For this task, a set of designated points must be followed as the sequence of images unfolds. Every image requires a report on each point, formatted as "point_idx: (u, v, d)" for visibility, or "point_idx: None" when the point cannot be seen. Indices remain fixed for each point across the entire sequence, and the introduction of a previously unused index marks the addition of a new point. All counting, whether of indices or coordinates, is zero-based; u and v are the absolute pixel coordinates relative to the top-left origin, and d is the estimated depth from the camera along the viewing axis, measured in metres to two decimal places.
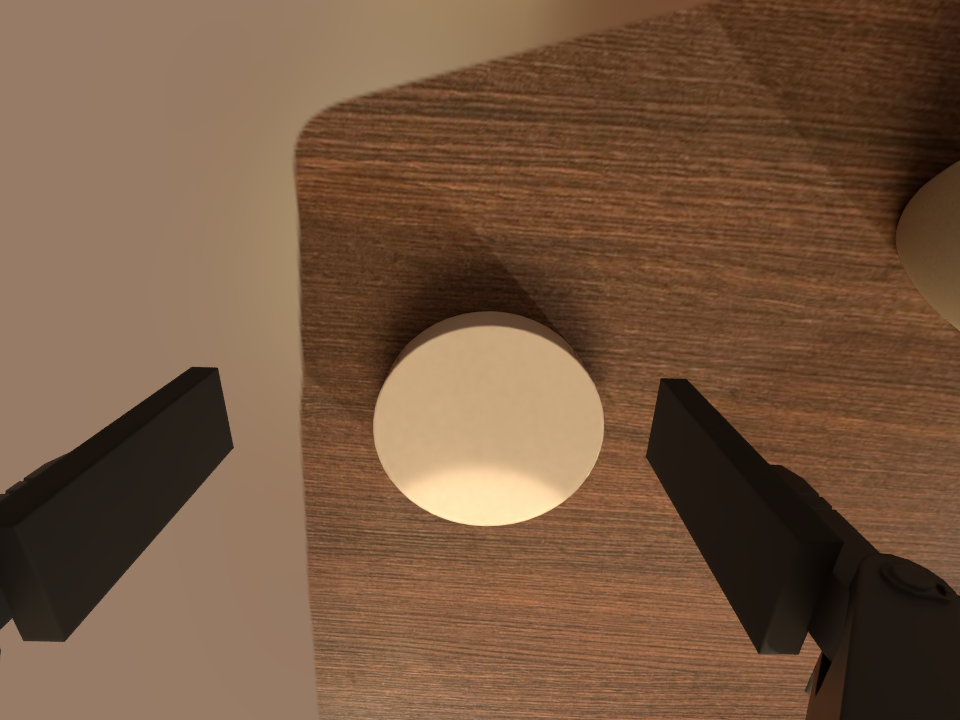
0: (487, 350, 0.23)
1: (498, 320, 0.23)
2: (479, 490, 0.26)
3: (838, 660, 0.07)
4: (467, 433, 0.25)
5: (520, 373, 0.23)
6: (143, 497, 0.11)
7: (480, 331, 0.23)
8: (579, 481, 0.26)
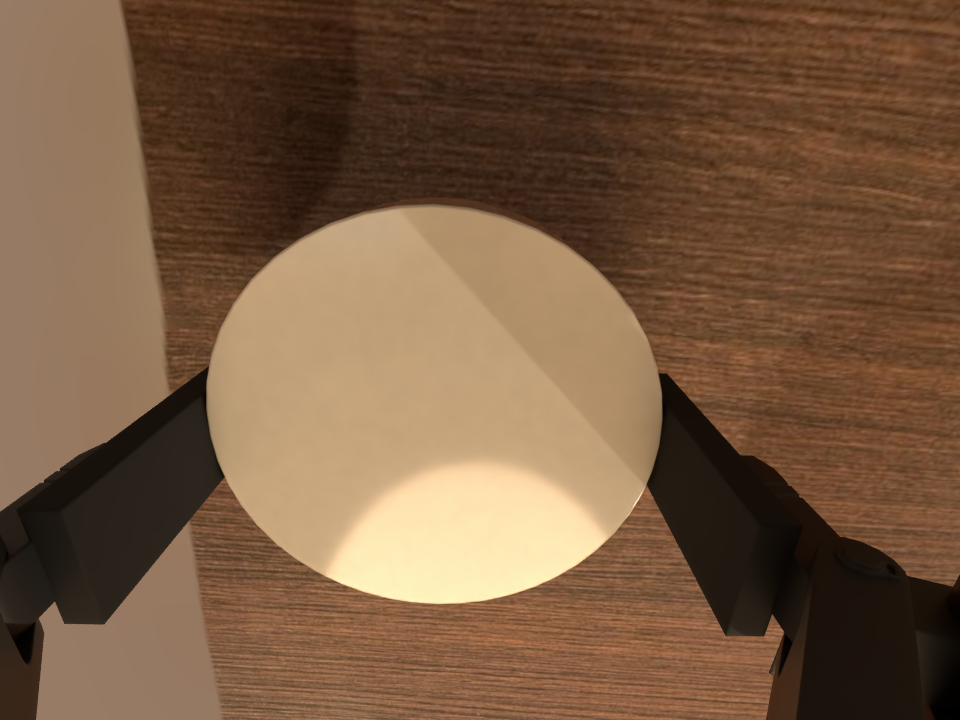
0: (426, 264, 0.11)
1: (448, 202, 0.11)
2: (423, 544, 0.14)
3: (798, 641, 0.07)
4: (394, 437, 0.13)
5: (495, 314, 0.11)
6: (173, 487, 0.11)
7: (408, 219, 0.10)
8: (610, 527, 0.14)
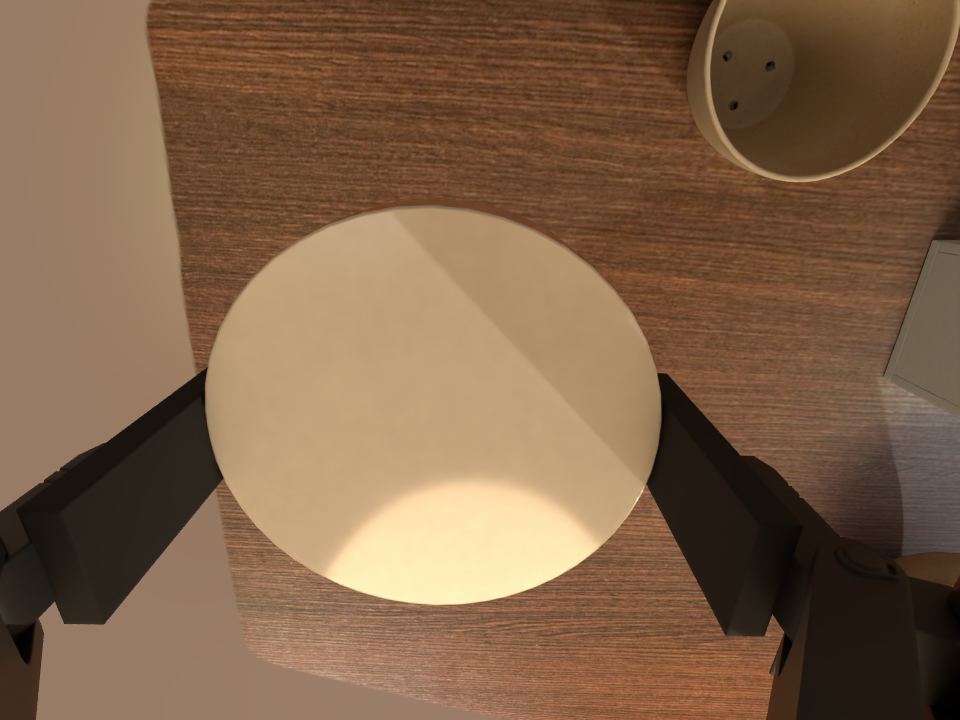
0: (424, 265, 0.11)
1: (447, 203, 0.11)
2: (422, 545, 0.14)
3: (798, 642, 0.07)
4: (394, 438, 0.13)
5: (494, 315, 0.11)
6: (173, 487, 0.11)
7: (406, 220, 0.10)
8: (609, 528, 0.14)
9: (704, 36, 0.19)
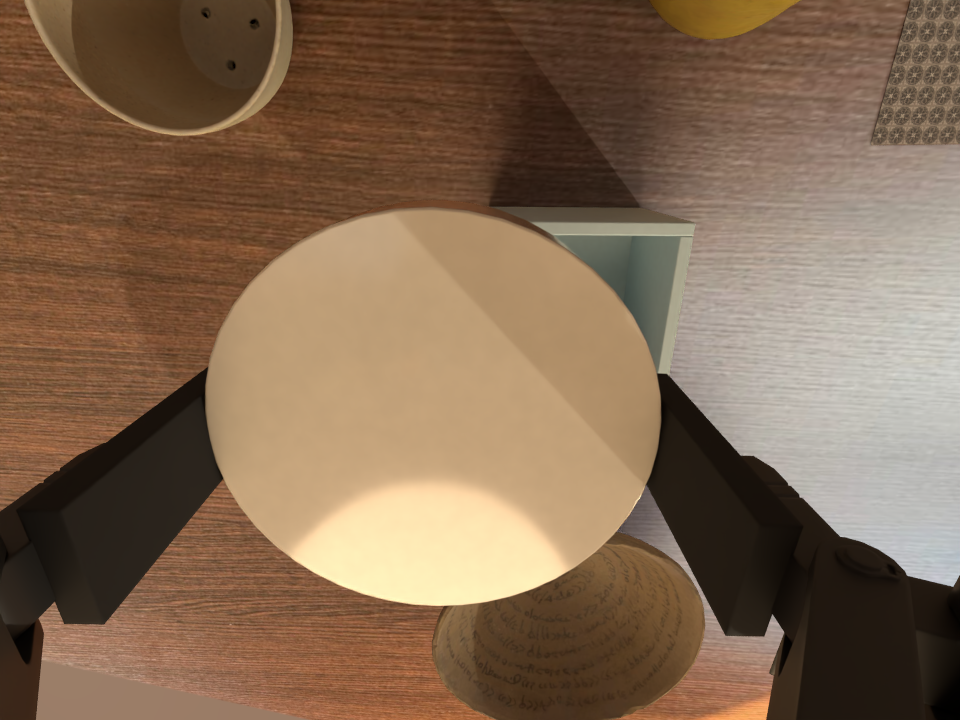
0: (424, 267, 0.11)
1: (447, 205, 0.11)
2: (422, 546, 0.14)
3: (798, 641, 0.07)
4: (393, 439, 0.13)
5: (494, 317, 0.11)
6: (173, 487, 0.11)
7: (406, 222, 0.10)
8: (609, 529, 0.14)
9: None
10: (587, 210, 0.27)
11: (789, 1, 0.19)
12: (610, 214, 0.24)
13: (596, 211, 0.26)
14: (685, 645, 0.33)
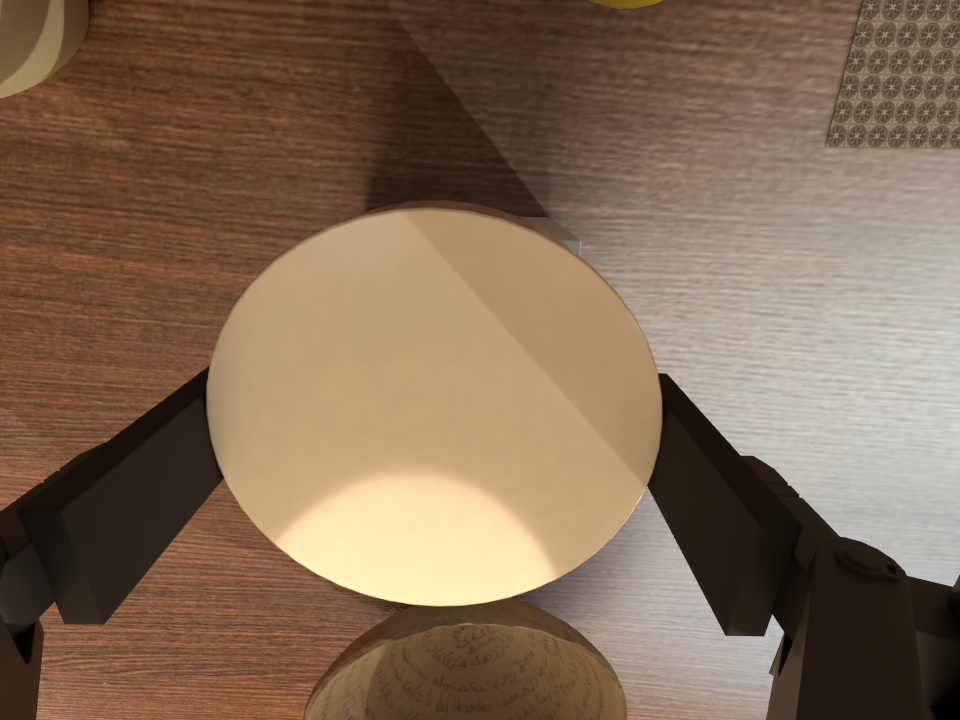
0: (426, 267, 0.11)
1: (448, 205, 0.11)
2: (423, 546, 0.14)
3: (798, 641, 0.07)
4: (395, 440, 0.13)
5: (496, 317, 0.11)
6: (173, 487, 0.11)
7: (407, 223, 0.10)
8: (610, 530, 0.14)
9: None
10: None
11: None
12: None
13: None
14: None
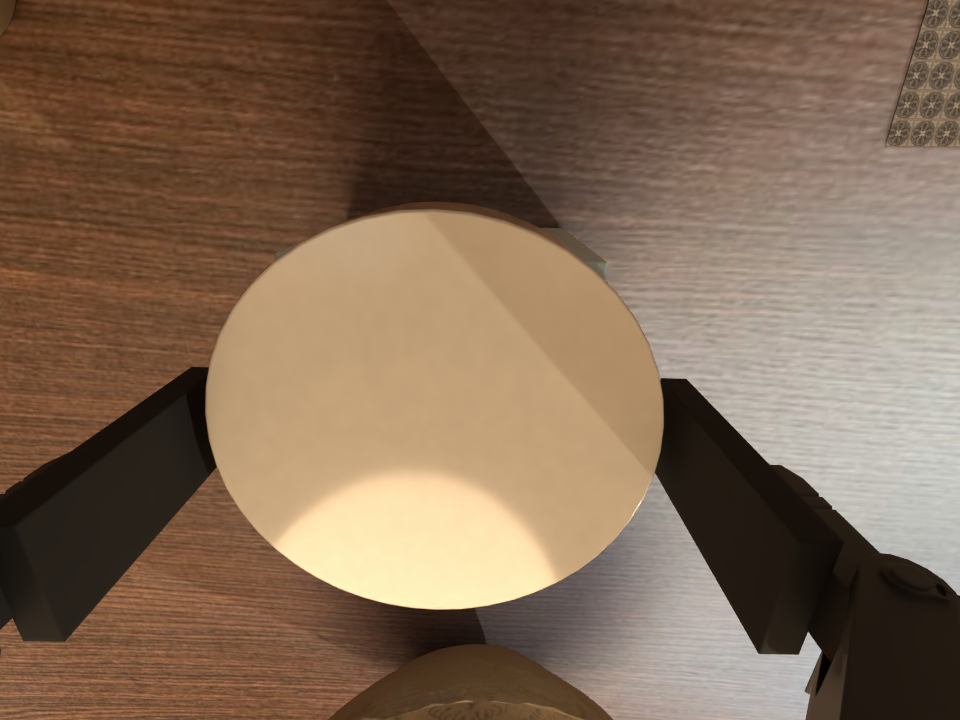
0: (426, 269, 0.11)
1: (449, 207, 0.11)
2: (423, 549, 0.14)
3: (838, 660, 0.07)
4: (394, 442, 0.13)
5: (496, 319, 0.11)
6: (143, 497, 0.11)
7: (407, 224, 0.10)
8: (611, 533, 0.14)
9: None
10: None
11: None
12: None
13: None
14: None
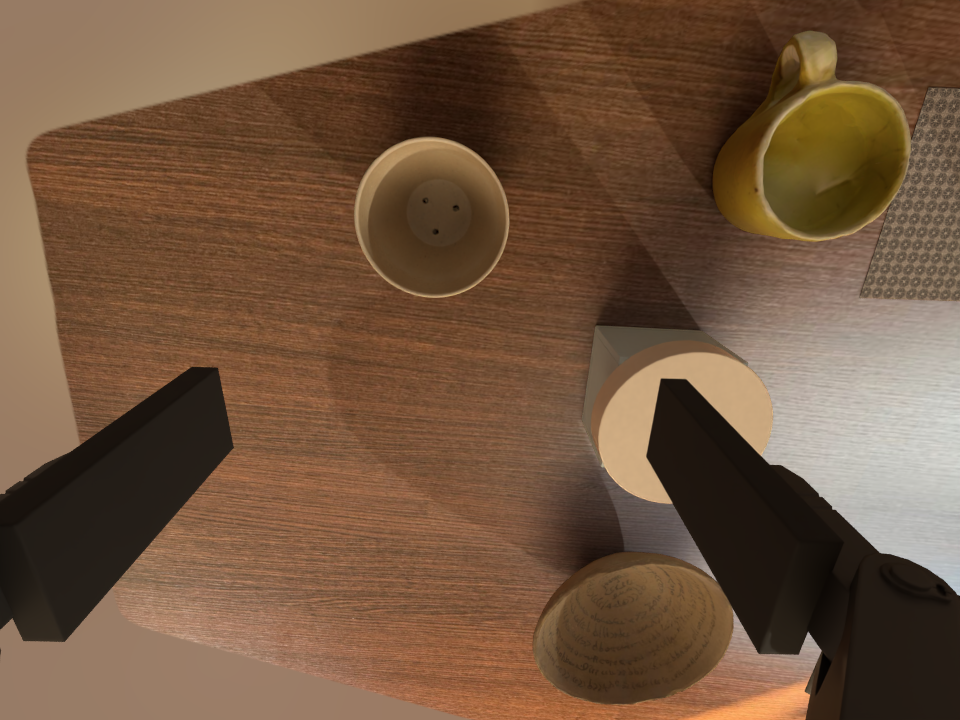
0: (697, 370, 0.31)
1: (702, 348, 0.32)
2: None
3: (838, 660, 0.07)
4: None
5: (717, 387, 0.32)
6: (143, 497, 0.11)
7: (694, 356, 0.31)
8: None
9: None
10: (667, 335, 0.39)
11: None
12: None
13: (675, 338, 0.38)
14: (717, 643, 0.45)
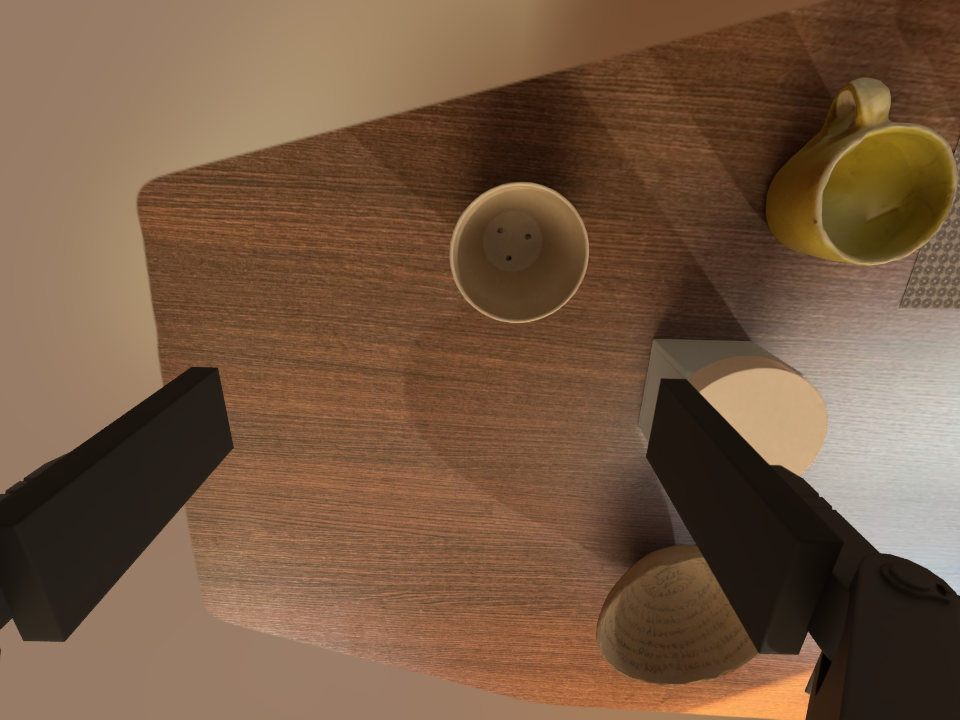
0: (760, 384, 0.35)
1: (764, 363, 0.35)
2: None
3: (838, 660, 0.07)
4: None
5: (778, 398, 0.35)
6: (143, 497, 0.11)
7: (758, 371, 0.34)
8: (801, 471, 0.38)
9: None
10: (722, 347, 0.42)
11: None
12: None
13: (729, 350, 0.42)
14: None
